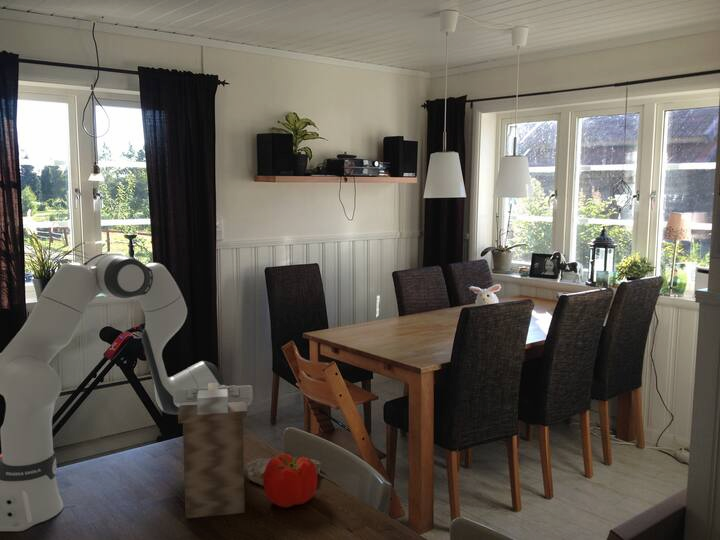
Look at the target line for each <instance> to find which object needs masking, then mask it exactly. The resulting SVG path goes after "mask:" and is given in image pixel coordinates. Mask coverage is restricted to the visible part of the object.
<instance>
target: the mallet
mask: <svg viewBox="0 0 720 540" xmlns="http://www.w3.org/2000/svg"><path fill="white" fill-rule="evenodd" d="M197 409H198V415H201V414H216V413H228V392H227V389H218V383H208V390H198V395H197Z"/></svg>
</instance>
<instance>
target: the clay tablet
mask: <svg viewBox="0 0 720 540" xmlns="http://www.w3.org/2000/svg"><path fill="white" fill-rule="evenodd" d="M292 458H293V459H294V458H295V457H292ZM271 459H272V457H271V458H263V457H261V458H257V459H254V460H252V461H251V460H250V462H247V463H246V464H245V471H246V472H247V473H246V474H247V477H248V479H249V480H250V481H251V482H253V483H255V484H258V485H259V486H263V487H264V485H263V476H264V472H265V469H266V466H267V464H268V462H269V461H270V460H271ZM298 459H299V458H296V460H298ZM310 460H311V461H312V462H313V463H314V465H315V467H316V470H317V475H319V473H320V472H321V466H322V463H321V462H320V461H319V460H316V459H314V458H311V459H310Z"/></svg>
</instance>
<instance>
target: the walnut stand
mask: <svg viewBox="0 0 720 540" xmlns="http://www.w3.org/2000/svg"><path fill="white" fill-rule="evenodd" d="M244 420H248V406H247V405H246V401H245V402H229V403H228V413H216V414H201V415H198V409H197V404H196V405H180V407H179V412H178V414H177V423H178V424H182V436H183V438H182V439H183V440H182V442H183V443H182V444H183V447H182V449H183V471H184V474H183V475H184V476H183V477H184V480H183V481H184V504H185V505H184V507H185V508H184V510H185V519H193V518H202V517H204V518H205V517H215V516H223V515H224V516H225V515H236V514H244V513H246V512H245V509H246V508H245V506H246V505H245V502H246V501H245V460H244V458H245V457H244V456H245V455H244V453H245V452H244V447H245V446H244Z"/></svg>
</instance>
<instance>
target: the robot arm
mask: <svg viewBox="0 0 720 540" xmlns="http://www.w3.org/2000/svg"><path fill="white" fill-rule="evenodd" d="M100 294H103V295H105V296H107V297H111V298H119V299H129V298H130V299H131V298H134V297H135V298H136V300H137V301H138V302H139V305H140V308H141V309H142V312H143V314H144V317H145V325H144V328H143V330H142V331H141V335H140V337H141V343H142V347H143V352H144V355H145V358H146V362H147V366H148V371H149V373H150V378H151V380H152V384H153V389H154V396H155V400H156V403H157V405H158V407H159V408H160V410H161V411H162V412H163V413H164V414H165V413H166V414H168V415H169V414H170V415H178V412H179V407H180V405H196V404H197V395H198V390H208V383H218V389H227V392H228V403H229V402H245V401H246V405H247V407H248V406H250V405H251V404H252V402H253V397H254V396H253V395H254V394H253V386H252V385H249V384H248V385H233V384H232V385H226V382H225V380H224V377H223V375H222V374H221V372H220V369H218V367H217V366H216V365H215V364H213V363H212V362H209V361H206V360H201V361H198V362H196V363H195V364H192V365H191V366H188V367H187V368H186V369H183V370H182V371H179V372H178V373H176V374H174V375H172V376H168V374H167V370H166V367H165V363H164V360H163V350H164V348H165V346H166V345H167V343H168V342H169V340H171V339H172V337H174V336H175V334H176V333H177V332H178V331H179V330H181V328H182V327H183V325H184V323H185V321H186V319H187V315H188V307H187V304H186V301H185V299H184V296H183V294H182V291H181V290H180V288H179V285H178V284H177V282H176V281H175V279H174V277H173V276H172V275H171V272H169V270H168V269H167V267H166V266H165V265H164V264H161V263H160V262H148V263H145V264H144V263H143V262H141V261H140V260H138V259H137V258H135V257H133V256H129V255H125V254H121V253H113V252H112V253H107V252H105V253H100V254H98V255H94V256H93V257H91V258H90V259H89V260H87V261H86V262H84V263H81V262H74V261H73V262H72V261H69V262H65V263H64V264H62V265H61V266H59V268H58V269H57V271H55V273H54V274H53V276H51V278H50V280H49V281H48V282H47V284H46V285H45V287H44V289H43V290H42V292H41V294H40V296H39V298H38V299H37V301H36V303H35V305H34V306H33V309H32V310H31V312H30V313H29V316H28V318H26V321H25V322H24V324H23V326H22V327H21V328H20V330H19V331H18V332H17V333H16V335H15V336H14V337H13V338H12V339H11V341H10V342H9V343H8V344H7V345H6V346H5V348H4V349H3V350H2V352H0V395H1V396H3V398H4V402H5V413H4V420H3V423H2V425H1V426H0V447H1V450H0V451H1V453H0V532H23V531H25V530H27V529H30V528H31V527H33V526H35V525H37V524H40V523H42V522H46V521H48V520H50V519H51V518H53V517H55V516H57V515H58V514H59V513H60V512H61V511H62V510H63V509H64V502H63V500H62V497H61V494H60V491H59V487H58V483H57V478H56V475H57V472H58V471H57V467H58V466H57V458H56V453H55V451H54V443H53V417H54V416H53V414H54V410H55V404H56V401H57V399H58V398H59V396H60V394H61V392H62V388H63V387H62V380H61V378H60V375H59V374H58V373H57V371H56V370H55V369H54V368H53V367H52V366H51V365H50V363H51V362H52V360H53V359H54V357H55V356H57V354H58V353H59V352H60V351H61V350H62V349H63V348H65V347H67V346H68V345H69V344H70V343H71V342H72V340H73V337H74V336H75V333H76V332H77V329H78V328H79V326H80V324H81V322H82V320H83V319H84V316H85V314H86V312H87V311H88V308H89V306H90V303H92V301H93V300H94V299H95V298H96V297H97V296H98V295H100Z"/></svg>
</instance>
